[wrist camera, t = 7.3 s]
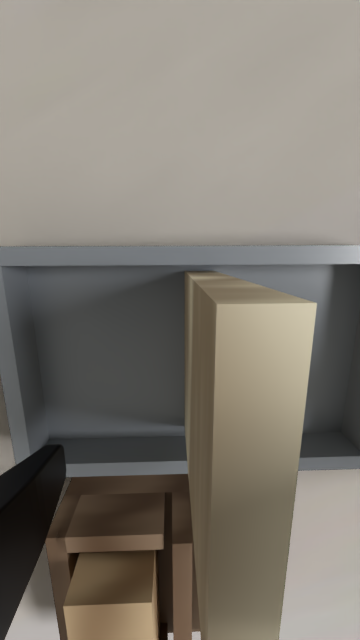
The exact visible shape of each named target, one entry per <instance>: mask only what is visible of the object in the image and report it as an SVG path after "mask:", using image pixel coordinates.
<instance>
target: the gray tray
mask: <svg viewBox="0 0 360 640" xmlns="http://www.w3.org/2000/svg"><path fill="white" fill-rule="evenodd" d="M185 271H216V272H220V273H223V274H226V275H229V276H232V277H235V278H239V279H242V280H245V281H248V282H251V283H255V284H258V285H261V286H264V287H267V288H270V289H274V290H277V291H280V292H283V293H286V294H290V295H293V296H296V297H299V298H302V299H305V300H309V301H312V302H315V303H317V309H316V317H315V326H314V335H313V344H312V352H311V361H310V370H309V379H308V387H307V396H306V405H305V414H304V422H303V431H302V440H301V449H300V457H299V466H298V471H302V470H337V469H360V245H297V246H25V247H0V375H1V381H2V387H3V393H4V399H5V405H6V410H7V416H8V422H9V428H10V434H11V440H12V446H13V451H14V457H15V463H16V465H17V464H18V463H20V462H21V461H23V460H24V459H26V458H27V457H29V456H30V455H32V454H33V453H35V452H36V451H37V450H39V449H40V448H42V447H43V446H45V445H47V444H61V445H63V447H64V453H65V462H66V477H92V476H127V475H162V474H188V464H187V451H186V438H185Z"/></svg>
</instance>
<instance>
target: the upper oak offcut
mask: <svg viewBox="0 0 360 640" xmlns="http://www.w3.org/2000/svg"><path fill="white" fill-rule="evenodd" d="M63 609H64V616H65V623H66V630H67V637H68V640H158V630H157V601H156V571H155V551H140V552H113V553H86V554H79V557H78V560H77V563H76V566H75V570H74V573H73V576H72V579H71V583H70V586H69V589H68V592H67V595H66V599H65V602H64V605H63Z"/></svg>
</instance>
